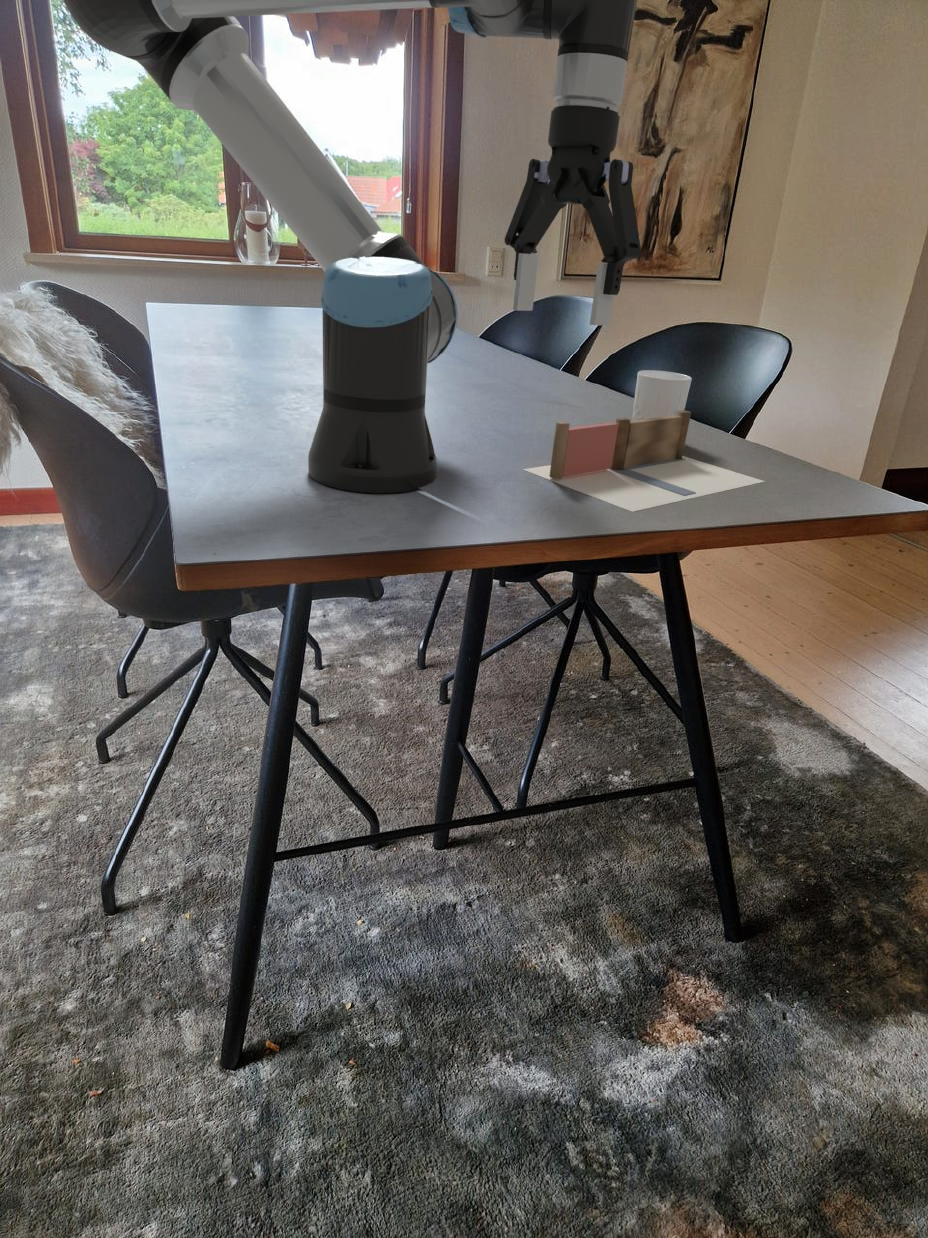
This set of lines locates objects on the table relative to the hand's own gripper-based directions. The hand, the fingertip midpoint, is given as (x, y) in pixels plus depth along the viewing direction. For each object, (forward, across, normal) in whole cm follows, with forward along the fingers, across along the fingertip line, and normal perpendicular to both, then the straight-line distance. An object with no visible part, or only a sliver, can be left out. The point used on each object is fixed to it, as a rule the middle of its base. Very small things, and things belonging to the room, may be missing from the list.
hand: (559, 317), depth 95 cm
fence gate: (+18, -6, -1) cm, 19 cm away
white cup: (+18, +2, -26) cm, 32 cm away
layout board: (+18, -10, -9) cm, 23 cm away
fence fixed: (+18, -7, -14) cm, 23 cm away
